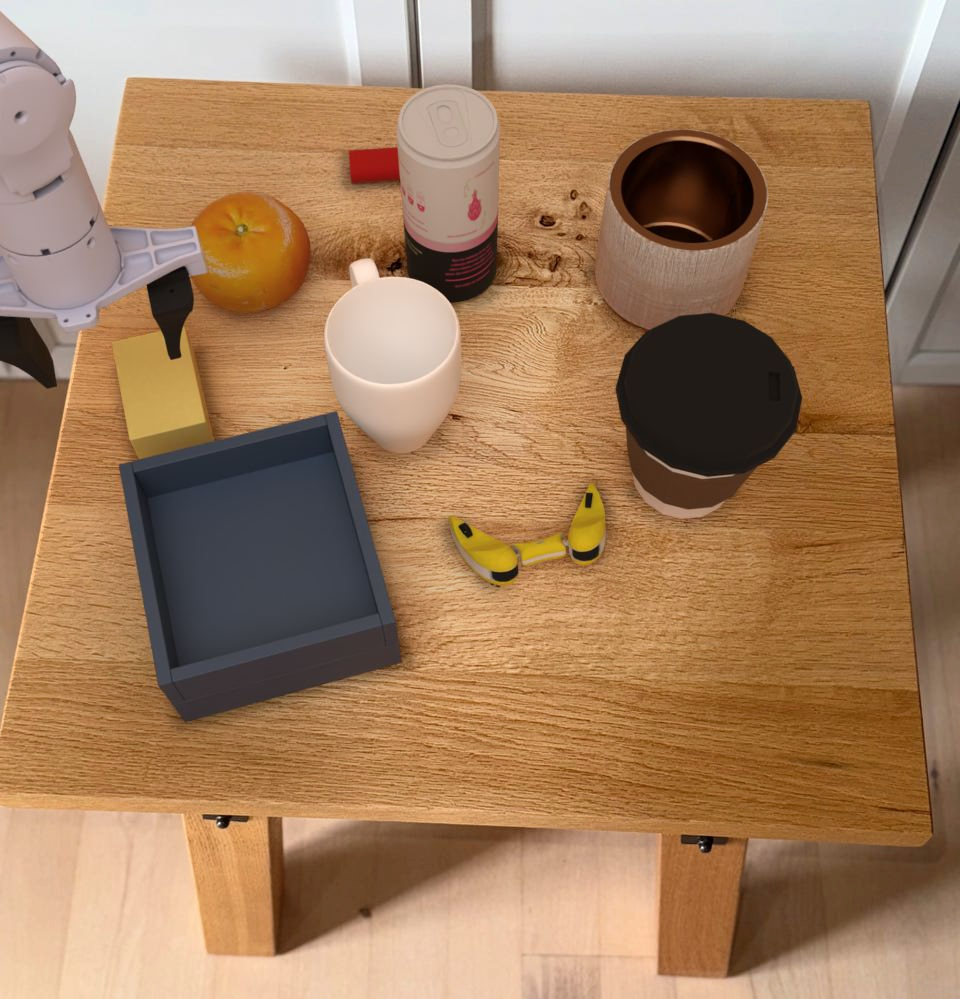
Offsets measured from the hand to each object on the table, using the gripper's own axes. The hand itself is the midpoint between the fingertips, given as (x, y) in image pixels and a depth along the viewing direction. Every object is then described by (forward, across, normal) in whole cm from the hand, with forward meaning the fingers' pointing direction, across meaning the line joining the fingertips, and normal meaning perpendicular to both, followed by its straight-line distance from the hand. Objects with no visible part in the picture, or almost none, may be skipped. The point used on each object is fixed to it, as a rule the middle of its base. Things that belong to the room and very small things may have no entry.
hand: (112, 360), depth 75 cm
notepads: (+8, +2, +1) cm, 9 cm away
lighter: (+8, +23, +18) cm, 30 cm away
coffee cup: (+8, +34, -14) cm, 38 cm away
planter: (+8, +39, +2) cm, 40 cm away
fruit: (+9, +10, +10) cm, 17 cm away
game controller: (+9, +23, -16) cm, 29 cm away
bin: (+8, +6, -14) cm, 17 cm away
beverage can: (+8, +24, +7) cm, 26 cm away
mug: (+9, +17, -3) cm, 19 cm away
